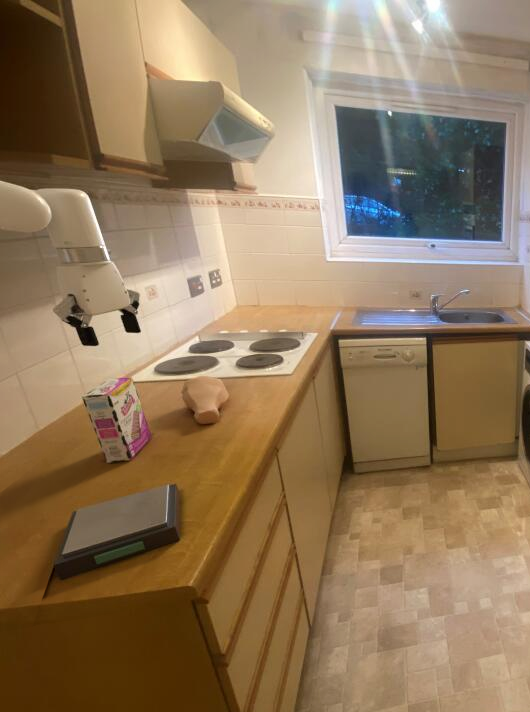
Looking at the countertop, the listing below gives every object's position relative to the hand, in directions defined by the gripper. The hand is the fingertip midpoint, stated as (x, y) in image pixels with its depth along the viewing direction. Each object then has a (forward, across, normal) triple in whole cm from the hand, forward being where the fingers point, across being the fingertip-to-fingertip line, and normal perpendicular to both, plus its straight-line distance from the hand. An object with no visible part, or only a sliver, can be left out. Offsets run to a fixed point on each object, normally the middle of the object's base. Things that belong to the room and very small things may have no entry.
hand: (113, 338), depth 93 cm
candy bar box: (+27, +2, -4) cm, 27 cm away
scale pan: (+24, +27, +21) cm, 42 cm away
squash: (+27, -19, 0) cm, 33 cm away
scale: (+27, +27, +20) cm, 43 cm away
